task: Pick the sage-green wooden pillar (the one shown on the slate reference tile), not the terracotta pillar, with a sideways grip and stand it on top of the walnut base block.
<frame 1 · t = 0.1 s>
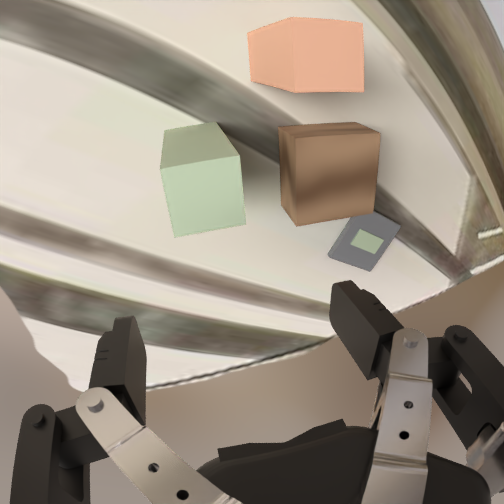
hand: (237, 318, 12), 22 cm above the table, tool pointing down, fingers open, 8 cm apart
reference tile: (364, 238, 42), on the table
walnut base: (318, 163, 34), on the table
sage pillar: (193, 149, 30), on the table
terracotta pillar: (274, 55, 27), on the table
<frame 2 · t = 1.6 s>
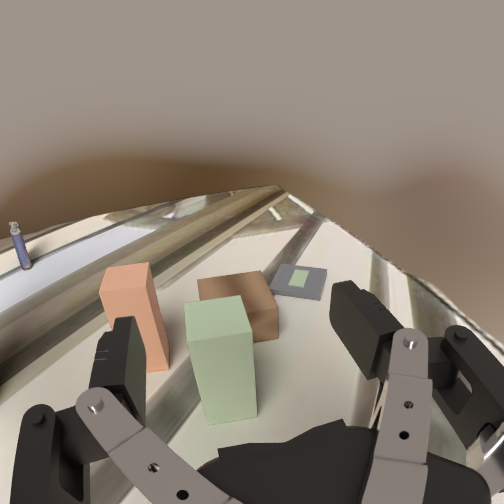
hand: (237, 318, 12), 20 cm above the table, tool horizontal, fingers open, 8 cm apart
reference tile: (299, 282, 51), on the table
flask: (26, 264, 62), on the table
walnut base: (237, 322, 43), on the table
sage pillar: (228, 403, 31), on the table
terracotta pillar: (149, 357, 37), on the table
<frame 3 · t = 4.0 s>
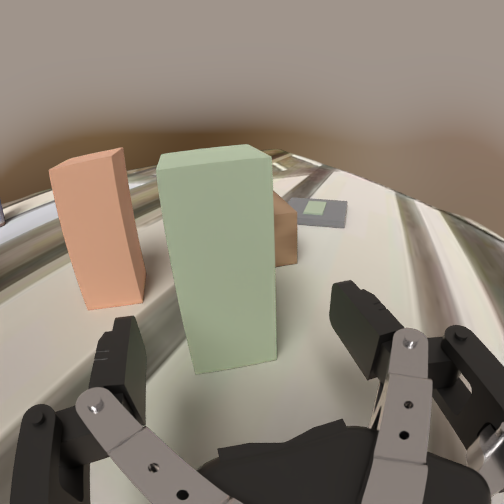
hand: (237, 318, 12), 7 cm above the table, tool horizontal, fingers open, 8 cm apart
reference tile: (315, 214, 41), on the table
flask: (0, 223, 51), on the table
walnut base: (239, 250, 33), on the table
sage pillar: (229, 341, 21), on the table
terracotta pillar: (118, 290, 27), on the table
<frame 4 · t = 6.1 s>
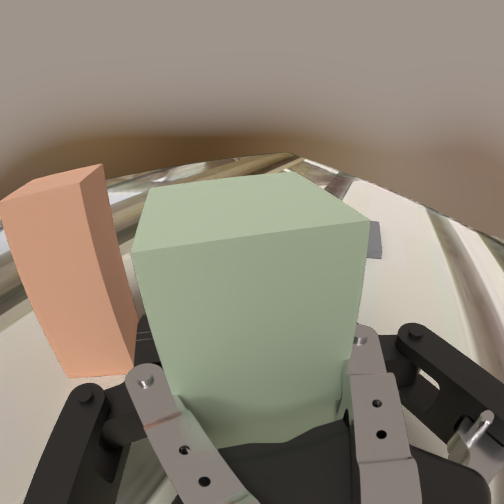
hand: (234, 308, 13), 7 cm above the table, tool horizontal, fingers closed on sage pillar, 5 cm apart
reference tile: (343, 238, 34), on the table
sage pillar: (256, 441, 14), on the table, touching gripper
terracotta pillar: (105, 350, 20), on the table
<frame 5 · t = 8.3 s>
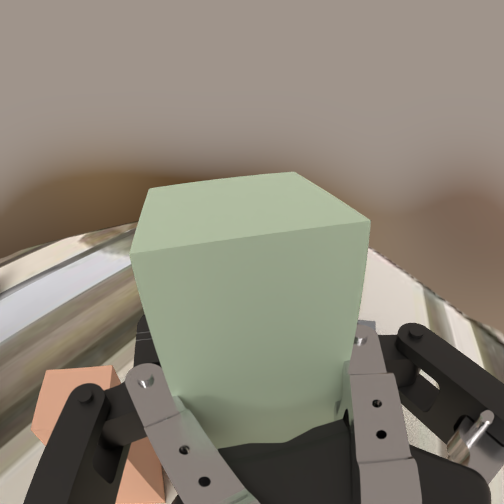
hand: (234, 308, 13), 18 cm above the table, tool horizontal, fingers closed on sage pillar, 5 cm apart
sage pillar: (256, 442, 14), point 11 cm above the table, touching gripper
terracotta pillar: (134, 479, 20), on the table
when the fingers open (12 cm above the table, at t = 10.5 s): sage pillar stays where it is, resting on walnut base.
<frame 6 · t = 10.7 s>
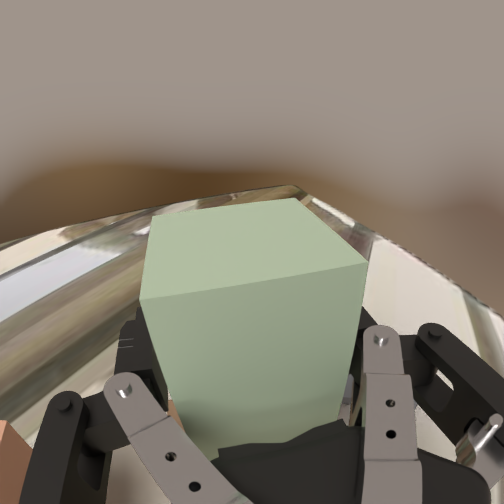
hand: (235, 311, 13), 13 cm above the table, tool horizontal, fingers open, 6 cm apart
sage pillar: (257, 451, 14), point 5 cm above the table, touching walnut base
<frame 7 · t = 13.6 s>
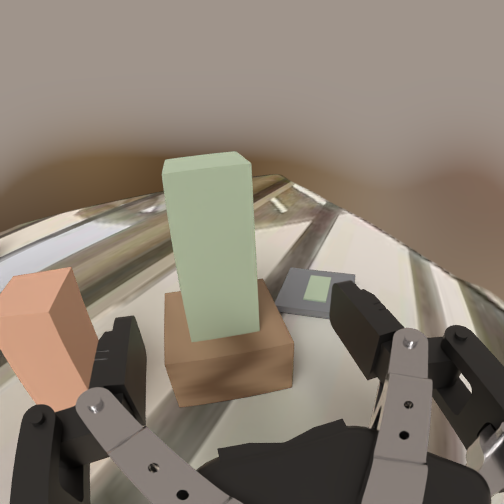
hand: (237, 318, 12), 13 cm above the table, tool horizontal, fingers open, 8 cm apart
reference tile: (317, 294, 35), on the table
walnut base: (227, 360, 27), on the table
sage pillar: (220, 316, 25), point 5 cm above the table, touching walnut base
terracotta pillar: (92, 413, 21), on the table
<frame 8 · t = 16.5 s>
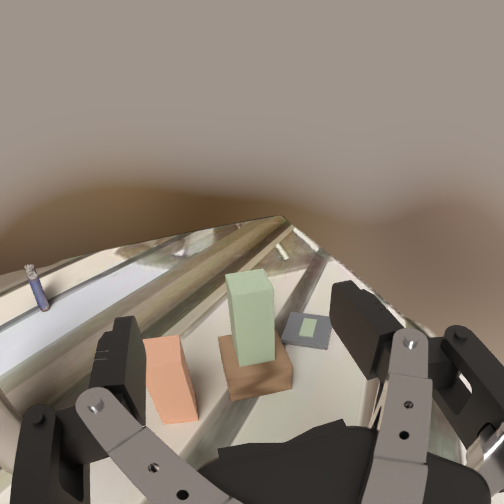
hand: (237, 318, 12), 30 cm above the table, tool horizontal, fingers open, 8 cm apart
reference tile: (307, 331, 55), on the table
flask: (43, 303, 66), on the table
walnut base: (254, 373, 47), on the table
sage pillar: (253, 351, 45), point 5 cm above the table, touching walnut base
terracotta pillar: (179, 408, 41), on the table
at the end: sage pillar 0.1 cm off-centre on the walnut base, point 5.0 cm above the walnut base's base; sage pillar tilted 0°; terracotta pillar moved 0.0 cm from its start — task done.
